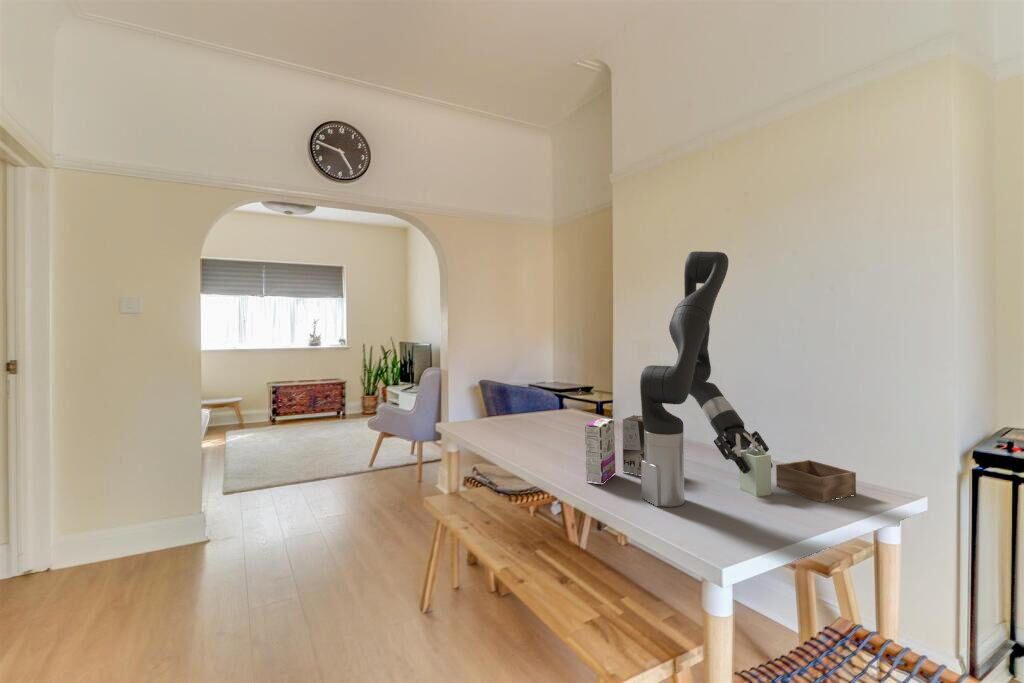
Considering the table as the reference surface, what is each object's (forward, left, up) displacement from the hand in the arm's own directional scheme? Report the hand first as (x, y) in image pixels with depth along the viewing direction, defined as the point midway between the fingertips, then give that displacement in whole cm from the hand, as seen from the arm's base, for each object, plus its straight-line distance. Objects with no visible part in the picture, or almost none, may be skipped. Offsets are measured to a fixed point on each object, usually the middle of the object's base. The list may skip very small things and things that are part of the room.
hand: (758, 470), depth 112 cm
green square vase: (0, +1, -6) cm, 6 cm away
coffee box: (-17, +27, -6) cm, 33 cm away
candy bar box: (-31, +25, -6) cm, 40 cm away
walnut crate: (+14, -4, -6) cm, 16 cm away
